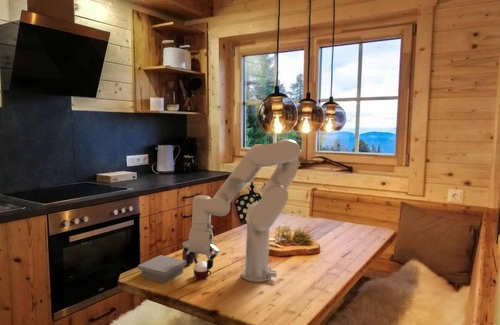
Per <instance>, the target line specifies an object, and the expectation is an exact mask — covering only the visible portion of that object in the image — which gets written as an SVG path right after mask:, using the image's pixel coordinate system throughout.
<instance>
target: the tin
mask: <svg viewBox="0 0 500 325" xmlns="http://www.w3.org/2000/svg"><path fill="white" fill-rule="evenodd" d="M187 247H188V244H187ZM195 255H196V258H197V259H198V256H199V253H195ZM181 256H182V260H185V261H186V265H185V266H191V265H192V264H193V263H195V261H194V258H193V263H191V264H189V265H188V264H187V255H186V252H185V251H184V248H183V249H182V254H181Z"/></svg>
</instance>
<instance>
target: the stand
mask: <svg viewBox="0 0 500 325" xmlns="http://www.w3.org/2000/svg"><path fill="white" fill-rule="evenodd" d="M185 266H187V265H186V261H185V260H183V259H181V258H176V257H171V256H167V255H162V254H160V255H157V256H155V257H153V258H151V259H148V260H146V261H145V262H142V263H140V264H138V265H137V270H140V271H141V272H140V273H141V278H145V279H147V280H151V281H155V282H158V283H162V284H166V283H167V282H170V281H171V280H173V279H175V278H176V277H178V276H179V275H181V274H183V273H184V267H185Z"/></svg>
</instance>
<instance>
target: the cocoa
mask: <svg viewBox="0 0 500 325" xmlns="http://www.w3.org/2000/svg"><path fill="white" fill-rule="evenodd" d="M192 255H193V258H194V265H193V275H194V277H195V278H196V279H197V280H203V279H206V278H208V277H210V276H211V274H212V271H211V270H210V269H209V270H207V261H205V260H199V261H198V257H197V258H196V255H195V253H194V252H192Z"/></svg>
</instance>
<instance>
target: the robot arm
mask: <svg viewBox="0 0 500 325" xmlns="http://www.w3.org/2000/svg"><path fill="white" fill-rule="evenodd" d="M300 154H301V147H300V145H299V143H298V142H296V141H295V140H294V139H289V138H282V139H280V140H278V142H274V143H267V144H260V143H259V144H258V143H255V144H253V145H252V146H251V147H250V148H249V149H248V151H247V152H246V153H245V155H243V157H242V158H241V160H240V161H239V163H238V164H237V165H236V167H235V168H234V169H233V171H232V172H231V173H230V175H229V176H228V177H227V178H226V180H225V181H224V182H223V184H222V185H221V186H220V187H219V189H217V191H216V193H214V196H213V197H211V196H209V195H207V194H206V195H204V194H203V195H202V194H199V195H198V194H197V195H195V196H194V197H193V199H192V212H191V213H192V214H191V216H192V218H191V227H190V230H189V233H188V240H187V241H184V242H182V243H181V244H182V247H183V249H184V251H185V252H186V255H187V264H188V265H187V266H190V265H189V264H191V263H192V264H193V263H194V262H193V255H192V252H194V253H198V255H202V256H203V255H204V256H206V257H207V260H206V262H207V270H209V271H210V270H211V269H212V268H213V267H214V259H215V258H217V257H218V254H219V253H220V250H219V249H218V247H216V246H215V245H214V243H215V242H214V233H213V227H214V226H213V224H211V223H212V215H213V216H217V217H224V216H227V215H228V214H229V213H230V210H231V202H233V200H234V198H235V197H236V196H237V194H239V192H240V191H242V190H243V189H244V188H246V187H248V186H249V185H250V184H251V183H252V181H253V180H254V179H255V177H256V176H257V174H258V173H259V172H260V170H261V169H262V168H263V167H264V168H265V167H271V166H276V167H275V169H274V171H273V173H272V174H271V176H270V177H269V178H268V180H267V181H266V183H265V184H264V186H263V187H262V189H261V195H262V196H261V198H260V200H259V201H254V202H252V203H251V204H249V205H248V207H247V209H246V210H247V211H246V213H245V214H246V218H245V219H246V236H245V237H246V239H245V240H246V241H245V242H246V243H245V267H244V268H245V269H244V270H243V271H241V277H242V278H243V279H244V280H245V281H249V282H253V283H264V282H267V281H269V280H270V279H272V278H277V276H278V273H277V270H274V269H271V265H269V255H270V253H269V252H270V248H269V247H270V228H271V227H272V226H273V224H275V222H276V221H277V219H278V217H279V216H280V215H281V213H282V212H283V210H284V208H285V207H286V206H287V203H288V200H289V192H288V188H289V187H290V185H291V184H292V182H293V181H294V179H295V177H296V175H297V173H298V170H299V157H300ZM187 245H188V247H187ZM192 264H191V265H192Z"/></svg>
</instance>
